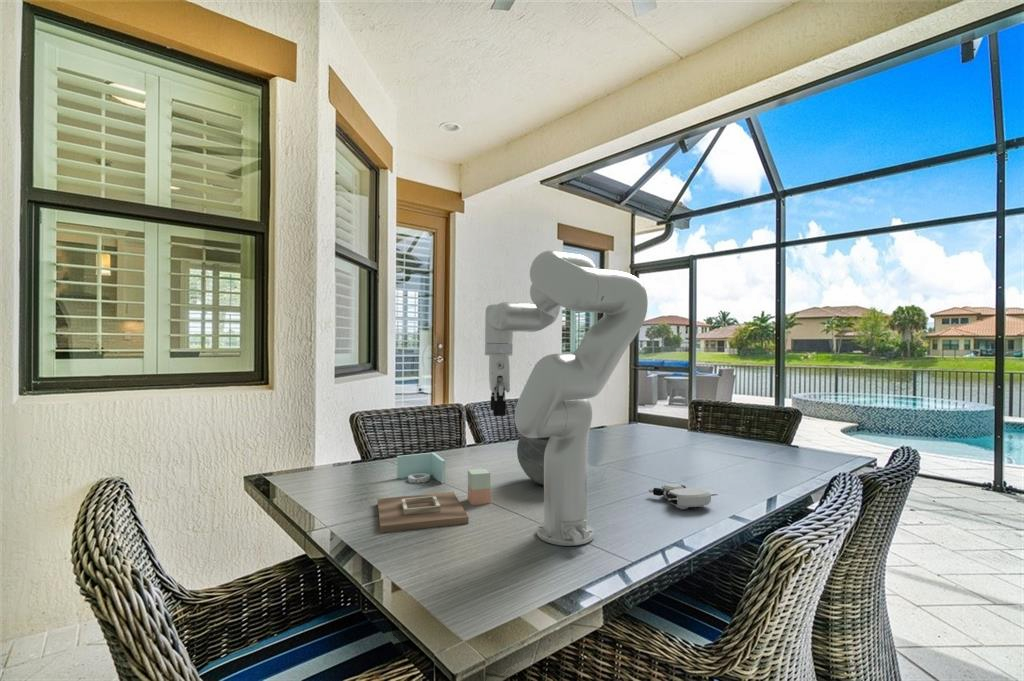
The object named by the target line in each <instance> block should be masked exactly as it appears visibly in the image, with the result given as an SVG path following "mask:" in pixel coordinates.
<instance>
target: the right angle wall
mask: <svg viewBox="0 0 1024 681" xmlns="http://www.w3.org/2000/svg"><path fill="white" fill-rule="evenodd" d="M432 475H433V476H434V477H433V476H432ZM431 476H432V477H433V478H435V480H436V481H438V482H439V481H440V482H441V483H442V484H441V483H440V482H439V483H440V484H441V485H443V483H445V484H446V460H445V459H444V458H442V457H441V456H440V455H439V454H437V453H436V452H426V453H425V452H424V453H415V454H406V455H397V456H396V479H397V478H401V479H405V478H404V477H408V478H407V481H410V483H411V484H418V483H420V484H425V483H426V482H428V481H430V480H431ZM429 479H430V480H429ZM412 482H414V483H412ZM421 482H422V483H421ZM410 483H409V484H410Z"/></svg>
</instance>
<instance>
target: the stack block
mask: <svg viewBox="0 0 1024 681" xmlns="http://www.w3.org/2000/svg"><path fill="white" fill-rule="evenodd" d="M467 500H468V502H469V504H470V505H471V506H479V505H487V503H489V504H491V472H490V471H489V470H488V469H487V468H475V469H467Z"/></svg>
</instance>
